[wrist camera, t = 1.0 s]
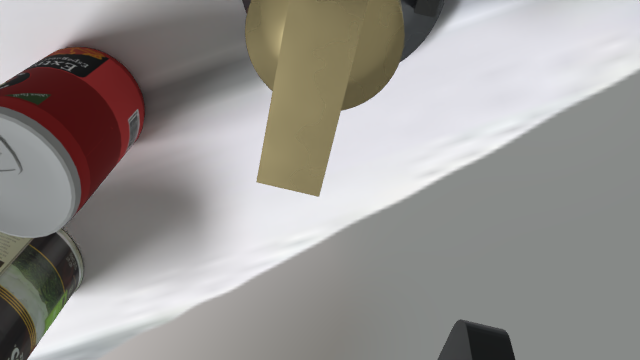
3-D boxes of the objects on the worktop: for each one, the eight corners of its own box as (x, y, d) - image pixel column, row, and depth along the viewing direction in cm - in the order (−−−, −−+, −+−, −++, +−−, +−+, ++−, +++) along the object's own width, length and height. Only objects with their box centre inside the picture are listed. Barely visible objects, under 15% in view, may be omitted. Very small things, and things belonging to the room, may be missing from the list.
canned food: (106, 25, 37) (10, 88, 27) (170, 129, 40) (105, 216, 31) (16, 68, 39) (-101, 140, 29) (84, 163, 42) (-1, 254, 33)
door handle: (276, -110, 23) (235, -91, 16) (430, -72, 23) (448, -39, 17) (241, 120, 28) (200, 202, 22) (366, 150, 28) (361, 239, 22)
